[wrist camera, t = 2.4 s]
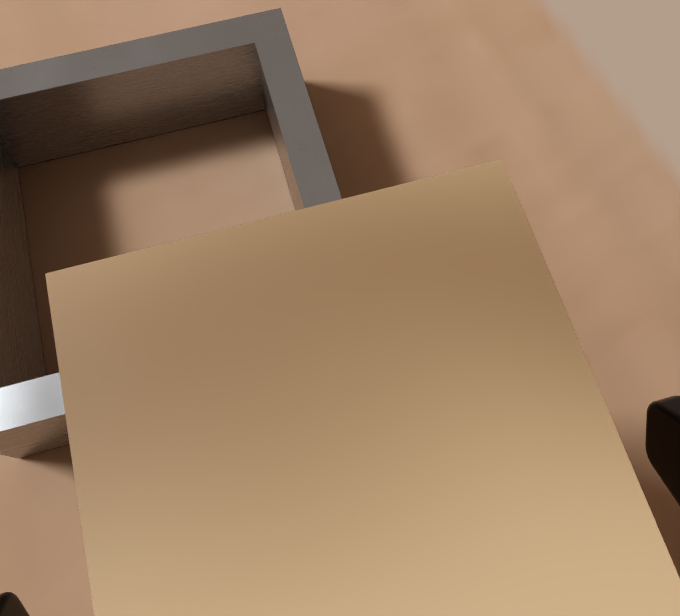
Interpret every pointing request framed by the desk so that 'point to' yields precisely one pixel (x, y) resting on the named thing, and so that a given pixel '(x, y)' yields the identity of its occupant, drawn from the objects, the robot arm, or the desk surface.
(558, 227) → the desk surface
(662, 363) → the desk surface
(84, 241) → the desk surface
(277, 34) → the grey square tray
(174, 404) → the rectangular block
